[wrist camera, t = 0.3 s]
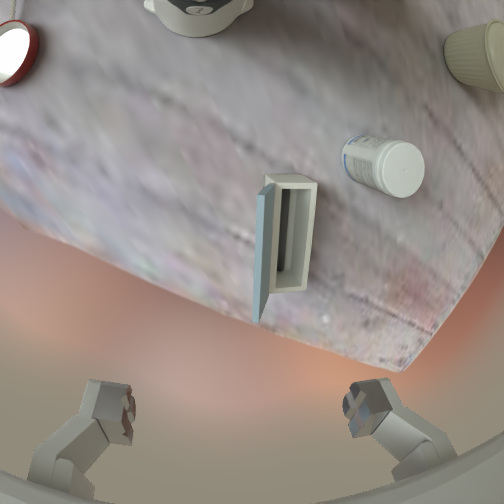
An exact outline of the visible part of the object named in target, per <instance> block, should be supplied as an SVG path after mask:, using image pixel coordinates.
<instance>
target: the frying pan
mask: <svg viewBox="0 0 504 504" xmlns="http://www.w3.org/2000/svg"><path fill="white" fill-rule="evenodd" d="M15 9H16V0H11V9H10V19H9V21H7V22H4V23H3V24H1V25H0V87H7V86H10V85H13V84H14V83H16V82H18V81H19V80H20V79H21V78H23V76H24V75H25V74H26V73H27V72H28V71H29V69H30V68H31V66H32V65H33V63H34V61H35V58H36V56H37V52H38V47H39V37H38V34H37V32H36V30H35V29H34V28H33V27H32V26H31V25H29V24H27V23H25V22H23V21H20V20H14V19H15Z"/></svg>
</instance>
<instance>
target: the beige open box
mask: <svg viewBox="0 0 504 504" xmlns="http://www.w3.org/2000/svg"><path fill="white" fill-rule="evenodd" d="M269 183H275V201H274V219H273V236H272V253H271V269H270V284H269V294H271V293H282V292H293V291H304V290H306V286H307V278H308V270H309V262H310V253H311V245H312V235H313V226H314V216H315V206H316V195H317V184H318V183H316V182H314V181H313V180H311V179H309V178H307V177H305V176H303V175H301V174H264V187H265V186H267V185H268V184H269Z"/></svg>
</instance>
